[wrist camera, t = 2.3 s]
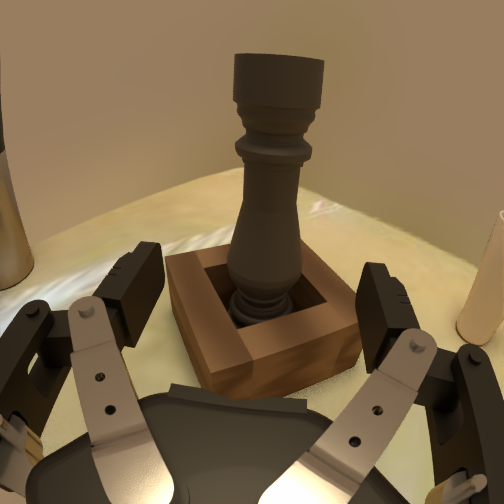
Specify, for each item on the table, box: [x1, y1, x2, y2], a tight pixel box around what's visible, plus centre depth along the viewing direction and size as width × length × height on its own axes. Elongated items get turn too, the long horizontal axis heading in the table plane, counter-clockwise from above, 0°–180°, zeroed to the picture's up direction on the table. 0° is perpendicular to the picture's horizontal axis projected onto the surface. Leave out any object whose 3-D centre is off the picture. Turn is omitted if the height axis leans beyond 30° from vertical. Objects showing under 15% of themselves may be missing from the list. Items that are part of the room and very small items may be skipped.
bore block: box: [165, 240, 363, 401], centre depth 29 cm, size 14×14×7 cm
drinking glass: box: [457, 210, 504, 345], centre depth 27 cm, size 7×7×15 cm
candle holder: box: [227, 53, 324, 329], centre depth 24 cm, size 6×6×25 cm
